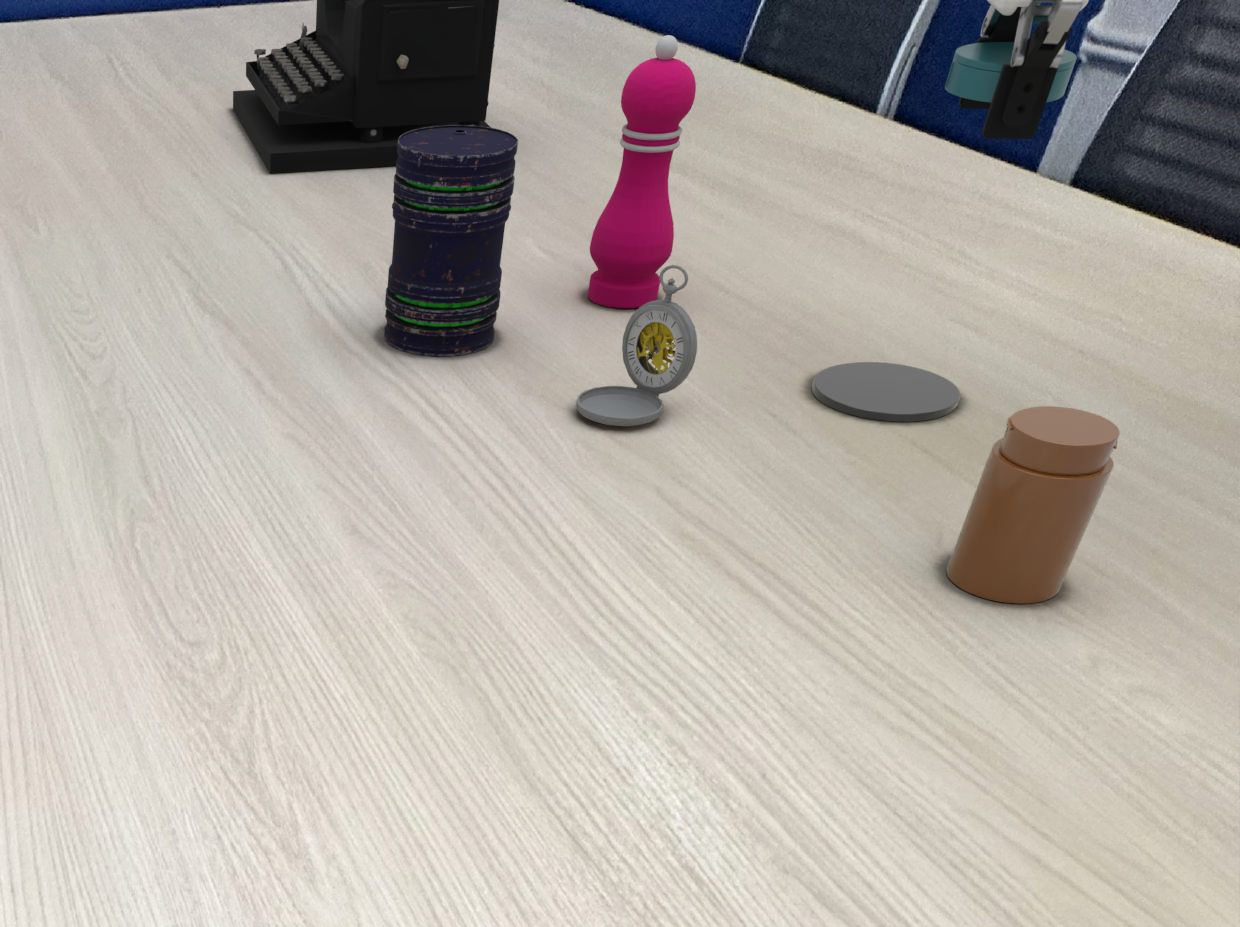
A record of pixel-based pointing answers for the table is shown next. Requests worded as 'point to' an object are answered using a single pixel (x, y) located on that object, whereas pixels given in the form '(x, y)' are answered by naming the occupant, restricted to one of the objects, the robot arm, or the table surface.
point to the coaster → (885, 391)
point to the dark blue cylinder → (448, 238)
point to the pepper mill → (642, 183)
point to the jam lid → (994, 71)
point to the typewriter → (368, 81)
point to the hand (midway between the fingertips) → (994, 120)
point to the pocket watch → (647, 362)
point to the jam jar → (1033, 504)
